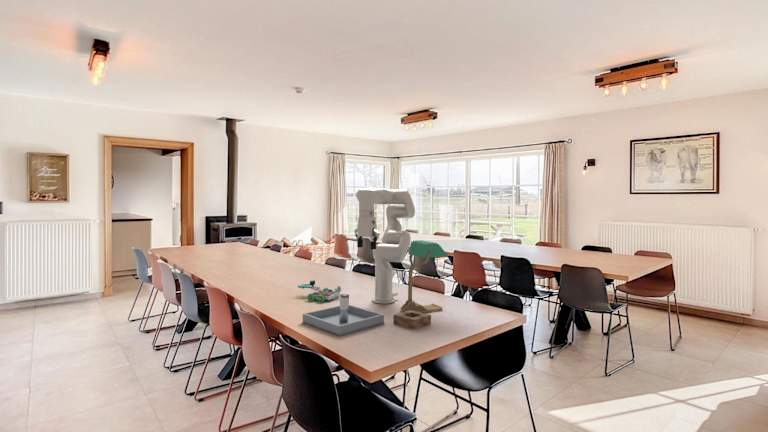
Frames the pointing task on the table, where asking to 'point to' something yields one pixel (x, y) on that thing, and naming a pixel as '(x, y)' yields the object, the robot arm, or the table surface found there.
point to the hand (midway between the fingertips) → (366, 248)
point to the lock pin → (344, 308)
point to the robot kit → (320, 292)
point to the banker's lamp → (420, 250)
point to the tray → (330, 323)
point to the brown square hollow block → (412, 319)
